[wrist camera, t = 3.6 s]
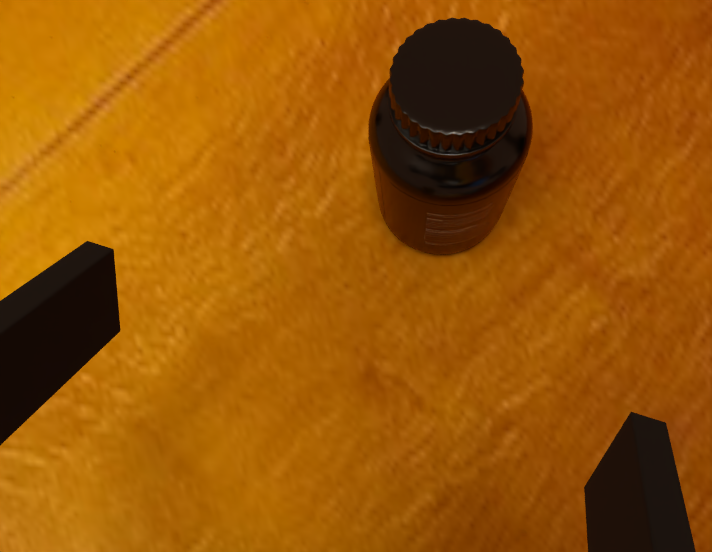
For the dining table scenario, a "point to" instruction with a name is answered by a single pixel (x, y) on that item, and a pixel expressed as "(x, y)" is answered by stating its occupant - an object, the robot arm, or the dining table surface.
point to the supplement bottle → (449, 135)
